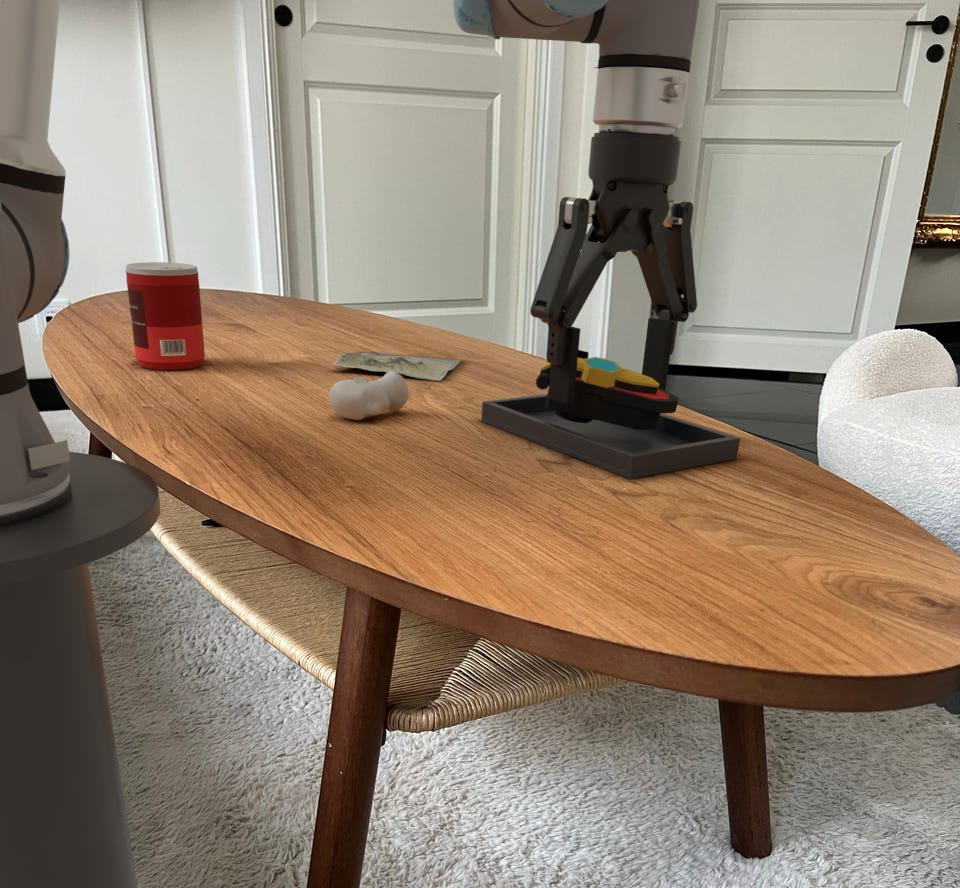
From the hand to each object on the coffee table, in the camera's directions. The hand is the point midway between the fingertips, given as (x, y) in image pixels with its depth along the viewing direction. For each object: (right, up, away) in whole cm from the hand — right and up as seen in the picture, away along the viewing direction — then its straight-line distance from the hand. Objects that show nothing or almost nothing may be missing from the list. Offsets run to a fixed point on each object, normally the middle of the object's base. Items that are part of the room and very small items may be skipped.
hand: (608, 395), depth 88 cm
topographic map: (-22, +11, +29) cm, 38 cm away
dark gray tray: (0, -4, +2) cm, 4 cm away
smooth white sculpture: (-23, -1, +6) cm, 24 cm away
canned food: (-49, +10, +23) cm, 55 cm away
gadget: (0, -2, +1) cm, 3 cm away
